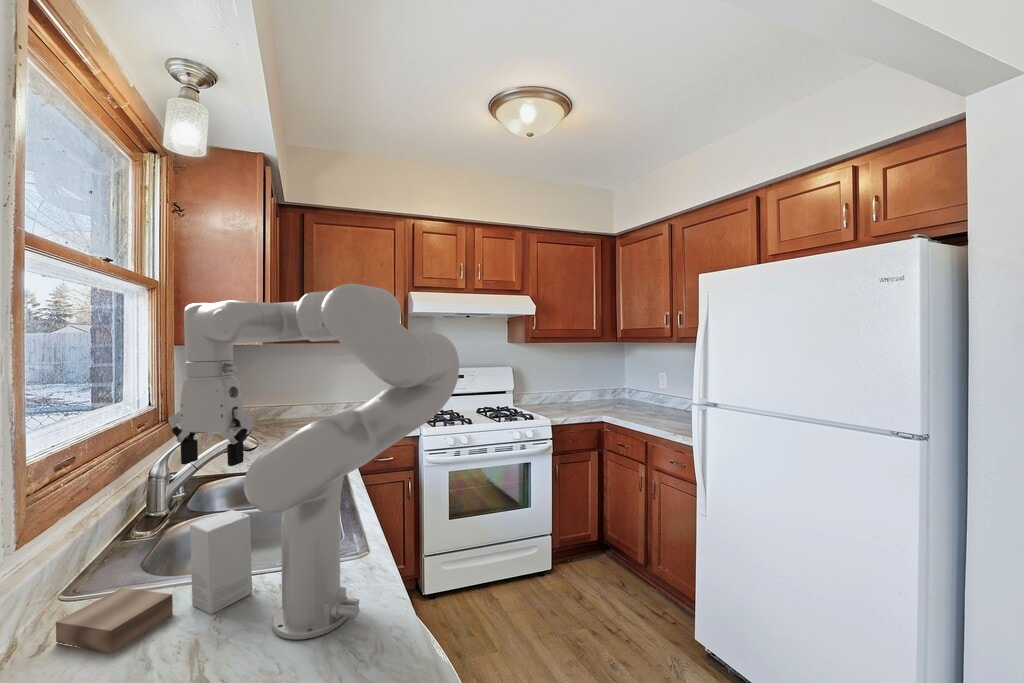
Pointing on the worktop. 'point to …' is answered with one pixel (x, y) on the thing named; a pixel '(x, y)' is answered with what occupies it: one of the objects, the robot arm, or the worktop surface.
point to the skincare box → (220, 560)
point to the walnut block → (114, 619)
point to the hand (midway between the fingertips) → (212, 463)
